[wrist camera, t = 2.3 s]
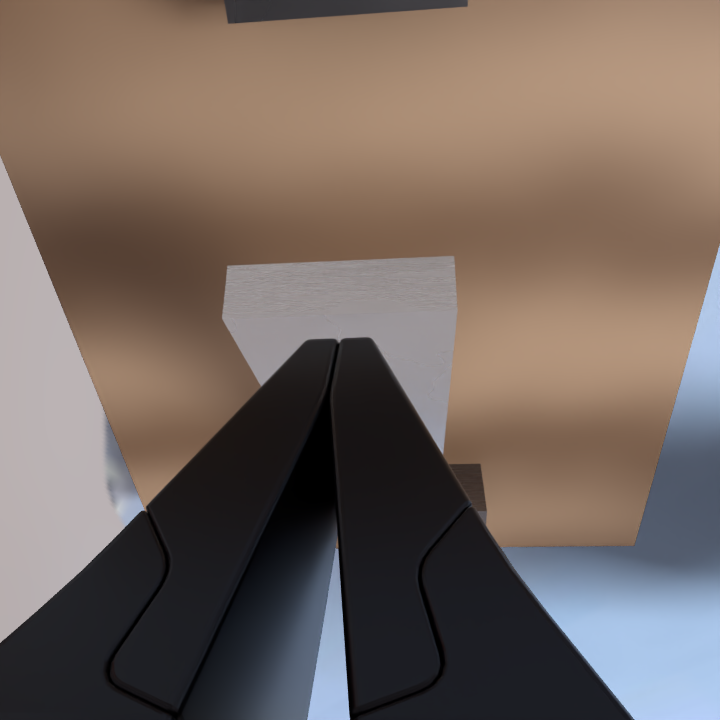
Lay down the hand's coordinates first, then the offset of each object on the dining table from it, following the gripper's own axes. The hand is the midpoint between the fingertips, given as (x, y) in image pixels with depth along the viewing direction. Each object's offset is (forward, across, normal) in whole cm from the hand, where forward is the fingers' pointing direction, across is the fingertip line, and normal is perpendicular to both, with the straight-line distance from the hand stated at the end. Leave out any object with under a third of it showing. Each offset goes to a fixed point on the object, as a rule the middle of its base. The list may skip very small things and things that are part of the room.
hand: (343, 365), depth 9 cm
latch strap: (+4, 0, +5) cm, 6 cm away
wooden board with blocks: (+10, 0, +2) cm, 11 cm away
